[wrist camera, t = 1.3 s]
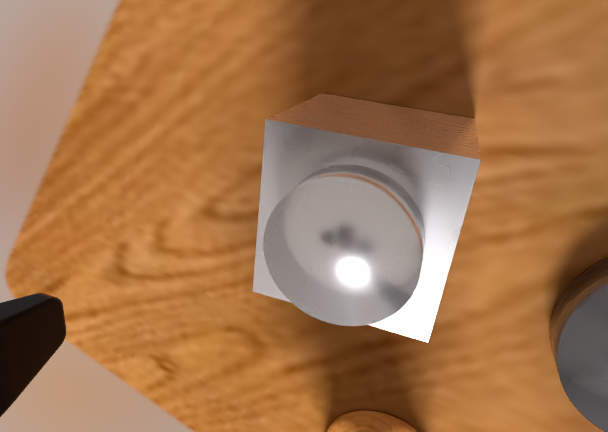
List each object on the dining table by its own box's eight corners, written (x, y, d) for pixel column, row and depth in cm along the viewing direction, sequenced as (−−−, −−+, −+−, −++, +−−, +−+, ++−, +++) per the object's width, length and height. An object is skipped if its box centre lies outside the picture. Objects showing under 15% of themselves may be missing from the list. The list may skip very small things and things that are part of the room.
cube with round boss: (437, 256, 19) (424, 375, 13) (306, 224, 21) (233, 315, 14) (475, 118, 17) (482, 176, 10) (322, 93, 18) (243, 129, 12)
